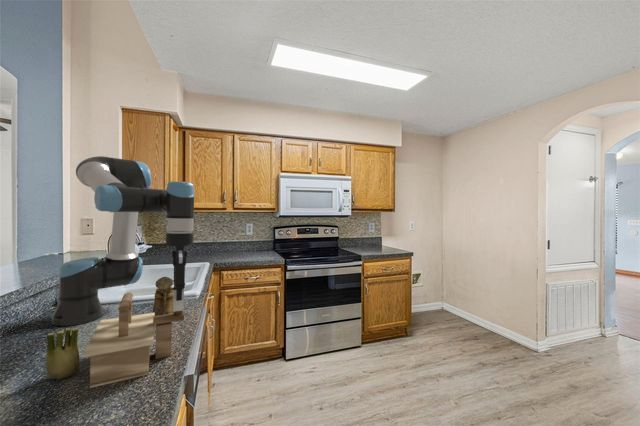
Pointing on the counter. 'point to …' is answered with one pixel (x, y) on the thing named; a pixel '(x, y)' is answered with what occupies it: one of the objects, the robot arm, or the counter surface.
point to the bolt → (168, 317)
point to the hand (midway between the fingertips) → (178, 308)
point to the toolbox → (129, 360)
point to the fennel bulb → (62, 354)
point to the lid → (122, 331)
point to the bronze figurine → (163, 297)
